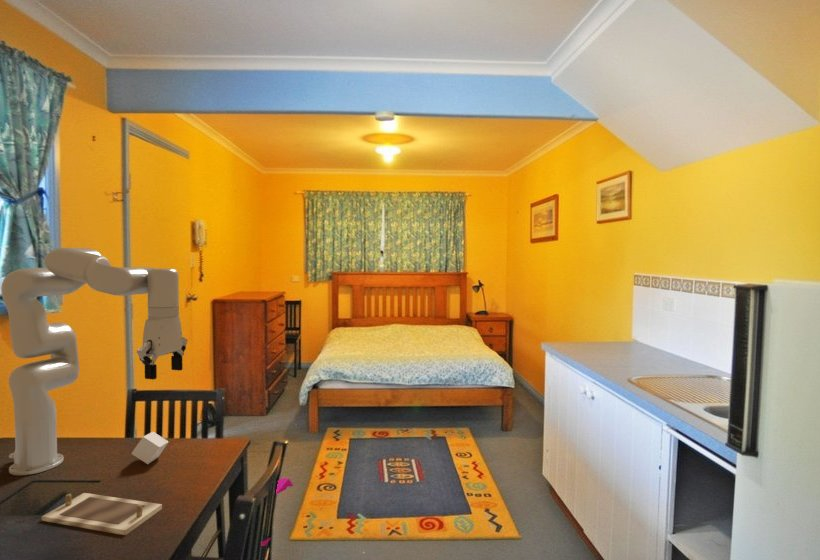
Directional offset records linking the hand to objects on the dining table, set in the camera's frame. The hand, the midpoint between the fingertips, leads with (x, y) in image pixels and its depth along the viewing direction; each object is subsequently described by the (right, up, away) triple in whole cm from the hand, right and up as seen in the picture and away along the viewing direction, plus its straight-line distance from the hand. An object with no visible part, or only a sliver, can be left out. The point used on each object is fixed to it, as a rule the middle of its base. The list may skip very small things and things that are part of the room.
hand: (164, 374), depth 122 cm
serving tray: (-8, -32, -13) cm, 36 cm away
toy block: (+28, -34, -2) cm, 44 cm away
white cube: (-13, -31, +15) cm, 37 cm away
